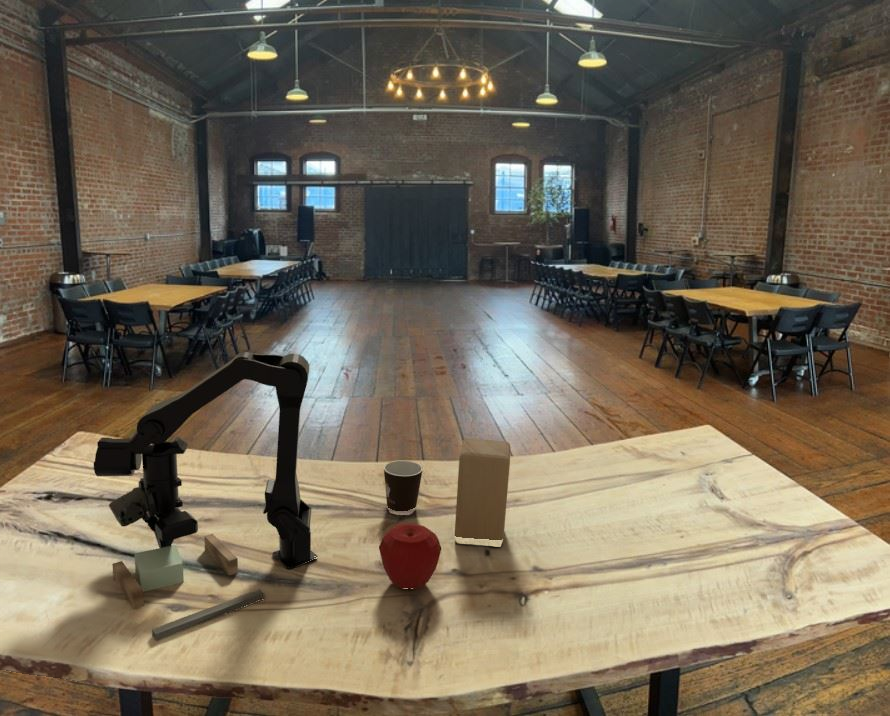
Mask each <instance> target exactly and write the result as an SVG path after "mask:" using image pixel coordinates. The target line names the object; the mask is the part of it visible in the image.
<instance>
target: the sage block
mask: <svg viewBox="0 0 890 716" xmlns="http://www.w3.org/2000/svg"><path fill="white" fill-rule="evenodd" d="M134 568H135V570H134V571H135V576H136V579H137V582H138V584H139V585H140V586H141V588H142V589H143V593H145V592H148V591H151V590H156V589H160V588H165V587H169V586H173V585H176V584H182V583H184V582H185V581H184V580H185V577H184V563H183V560H182V557H181V554H180V552H179V549H178V548H177V545H176V544H172V545H171V546H167V547H163V548H154V549H149V550H144V551H140V552H134Z"/></svg>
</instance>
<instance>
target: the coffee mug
mask: <svg viewBox="0 0 890 716" xmlns="http://www.w3.org/2000/svg"><path fill="white" fill-rule="evenodd" d="M383 474H384V485H385V499H386V507H387V506H388V508H390V509H392V510H395V511H408V510H410V509H413V508H415V507H416V508H417V505H418V499H419V492H420V487H421V482H422V481H421V480H422V476H423V466H422V465H421V464H420V463H418V462H416V461H412V460H402V459H400V460H393V461H389V462H387V463H385V464H384V465H383Z"/></svg>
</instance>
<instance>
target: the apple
mask: <svg viewBox="0 0 890 716" xmlns="http://www.w3.org/2000/svg"><path fill="white" fill-rule="evenodd" d="M378 550H379V554H380V559H381V563H382V567H383V569H384V572H385V573H386V575H387V577H388V579H389V580H390V582H391V583H392V584H393V585H395V586H396V587H398V586H399V587H398V588H400V587H401V588H400V589H402V588H408V589H411V588H416V589H418V588H421V587H422V586H425V585H426V584H428V583H429V581H430V580H431V578H432V576H433V574H434V573H435V571H436V569H437V567H438V563H439V561H440V556H441V554H442V553H441V552H442V546H441V543H440V540H439V538H438V536H437V535H436V532H433V531H432V530H431V529H429V528H428V527H426V526H425V525H421V524H417V523H412V522H410V523H409V522H406V523H404V522H403V523H399V524H396V525H395V526H393V527H391V528H390V529H388V530H387V531H385V533H384V534H383V537H382V538H381V542H380V544H379V547H378ZM420 586H421V587H420ZM417 587H418V588H417Z"/></svg>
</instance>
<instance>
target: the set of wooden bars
mask: <svg viewBox="0 0 890 716" xmlns="http://www.w3.org/2000/svg"><path fill="white" fill-rule="evenodd" d="M204 551H205V552H206V553H207V554H208V555H209V556H210V557H211V558H212V559H213V560H214V562H215V563H217V564H218V565H219V566H220V567H221V569H223V571H224V572H225V573H226V574H227V575H228V576H233V575H235V574H238V573H239V570H238V569H239V567H238V566H239V565H238V562H239V561H238V560H239V559H238V557H237V556H236V555H235V554H234V553H233V552H232V551H231V550H230V549H229V548H228V547H227V546H226V545H225V544H224V543H223V541H220V539H219V538H217V536H216V535H214V534H213V533H211V534H207V535H204ZM111 566H112V577H113V578H112V579H113V581H114V582H115V583H116V585H117V586H118V588H119V590H120V591H121V592H122V593H123V595H124V596H125V598H126V599H127V601H128V603H129V604H130V605H131V607H132V608H133V610H135V609H137V608H140V607H143V606H145V604H144V603H145V602H144V601H145V600H144V592H143V589H142V588H141V586H140V585H139V583H138V580H136V579H137V578H135V577H134V575H133V574H132V573H131V571H130V570H129V568H128V567H127V565H126V564H125V563H124V562H123V560H120V561H117V562H113V563H112V565H111ZM262 599H264V600H265V592H263V591H262V589H261V588H259V589H256V590H253V591H251V592H248V593H245V594H243V595H240V596H237V597H234V598H232V599H228V600H227V601H223V602H221V603H219V604H216V605H212V606H210V607H207V608H205V609H202V610H199V611H196V612H195V613H191V614H188V615H186V616H183V617H181V618H178V619H175V620H173V621H170V622H167V623H164V624H162V625H158V626H156V627H154V628H151V636H152V638H153V639H154V641H155V642H157V641H159V640H163V639H165V638H167V637H168V638H169V637H170V636H172V635H176V634H178V633H181V632H183V631H186V630H189V629H191V628H193V627H196V626H199V625H201V624H203V623H204V624H205V623H206V622H209V621H211V620H215V619H216V618H217V619H218V618H219V617H222V616H224V614H225V613H227V614H229V612H230V611H233V612H235V611H237V610H236V609H238V610H239V608H240V609H242V608H241V607H243V608H245V607H244V606H246V605H248V606H250V605H249V604H251V603H253V604H255V603H254V602H256V601H258V600H261V601H263V600H262ZM258 602H259V601H258ZM256 603H257V602H256ZM251 605H252V604H251ZM246 607H247V606H246ZM234 610H235V611H234ZM230 613H231V612H230ZM225 615H226V614H225Z"/></svg>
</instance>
